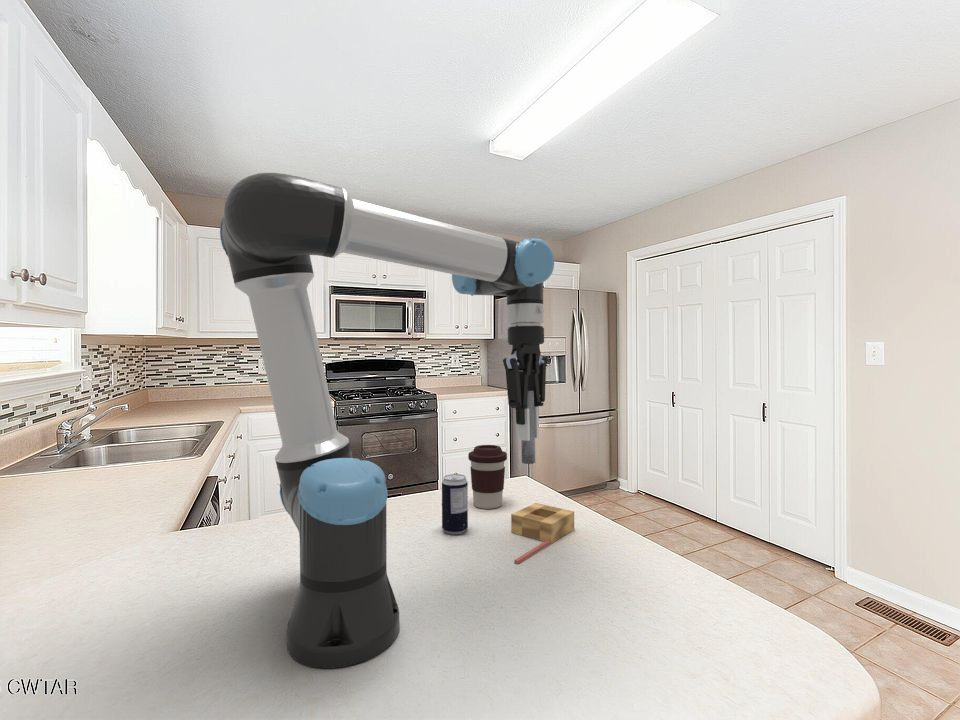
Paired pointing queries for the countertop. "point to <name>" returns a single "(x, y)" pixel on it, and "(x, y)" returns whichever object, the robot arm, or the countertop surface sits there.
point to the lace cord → (532, 552)
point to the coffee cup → (487, 475)
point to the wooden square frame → (542, 522)
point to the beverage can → (454, 504)
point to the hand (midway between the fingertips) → (528, 438)
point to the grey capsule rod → (529, 446)
